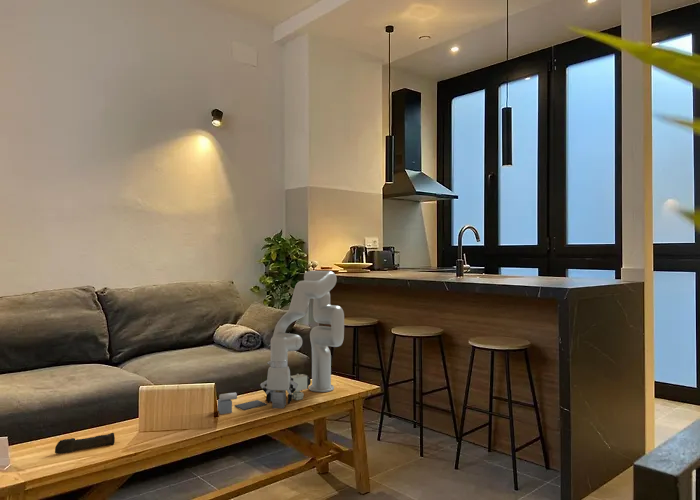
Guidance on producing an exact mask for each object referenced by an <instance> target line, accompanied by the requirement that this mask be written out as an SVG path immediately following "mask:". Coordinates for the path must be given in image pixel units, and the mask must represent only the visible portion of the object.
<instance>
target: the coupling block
mask: <svg viewBox="0 0 700 500" xmlns="http://www.w3.org/2000/svg"><path fill="white" fill-rule="evenodd" d="M271 402H272V403H271V405H272V408H271V409H284V408H285V407H286V406H287V390H286V391H276V390H274V391H273V392H272V401H271ZM285 405H286V406H285Z"/></svg>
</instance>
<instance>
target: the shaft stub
mask: <svg viewBox="0 0 700 500" xmlns="http://www.w3.org/2000/svg"><path fill="white" fill-rule="evenodd" d="M218 395H219V396H218V397H219V399H217V412H218V411H219V412H218V414H220V415H225V414H231V413H233V400H237V399H238V394H237V392H228V393H221V394H218Z"/></svg>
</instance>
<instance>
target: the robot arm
mask: <svg viewBox="0 0 700 500" xmlns="http://www.w3.org/2000/svg"><path fill="white" fill-rule="evenodd" d="M337 280H338V279H337V275H336V274H335V272H333V271H331V270H309V271H308V270H307V271H306V272H305V273H304V274H303V280H300V281H298V282H297V283H296V284H295V287H294V290H293V293H292V297H291V302H290V305H289V308H288V310H287V312H285V313H284V314H283V315H282V316H281V318H280V319H279V320H278V321H277V322H276V324H275V326H274V331H273V334H272V337H271V339H270V360H269V361H267V365H269V367H268V370H267V379H266V380H264V381H263V382H261V383H260V387H261V389H262V391H263V392H264V393H265V395H266V401H267V404H270V403H271V402H272V401H271V393H270V390H276V391H286V393H288V395H287V404H291V402H292V401H293V399H292V394H293V392H295V390H296V388H297V386H298V384H297V383H295V382H294V381H292V380H291V378H290V376H291V370H290V366H288V357H289V356H288V353H289V352H294V351H298V350H300V348H301V347H302V345H303V338H302V337H301V335H299V334H295V333H287V332H286V331H287V329H288V327H289V326H290V325H291V324H292V323H294V322H295V321H297V320H299V319H301V318H304V317H305V316H306V315H307V313H308V310H309V305H310V302H311V299H313V306H312V309H313V310H312V311H313V312H312V316H313V320H314V322H316V323H317V324H324V325H325V326H323V325H317V326H314V327H312V329H311V330H310V331H309V339H310V340H309V341H310V345H311V384H310V385H309V387H308V390H309V391H311V392H315V393H327V392H331V391H334V389H335V386H334V385H333V384H332V367H331V366H332V355H331V350H330V348H329V347H333V348H338V347H341V346H342V345H343V342H344V340H345V339H344V338H345V311H344V310H343V308H342V307H341V306H340V305H335V304H331V293H330V292H331V290H333V288H334V287H335V286H336V284H337ZM326 325H330V326H326ZM291 384H292V385H294V388H293V389H292V390H291V388H290V387H291ZM265 385H266V386H267V388H266V386H265Z"/></svg>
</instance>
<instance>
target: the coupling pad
mask: <svg viewBox="0 0 700 500" xmlns="http://www.w3.org/2000/svg"><path fill="white" fill-rule="evenodd" d="M264 406H268V402H267V403H266V402H263V401H262V400H259V399H256V400H251V401H247V402H242V403H237V404H234V408H237V409H240V410H242V411H247V410H248V411H249V410H251V409H256V408H259V407H264Z"/></svg>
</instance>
